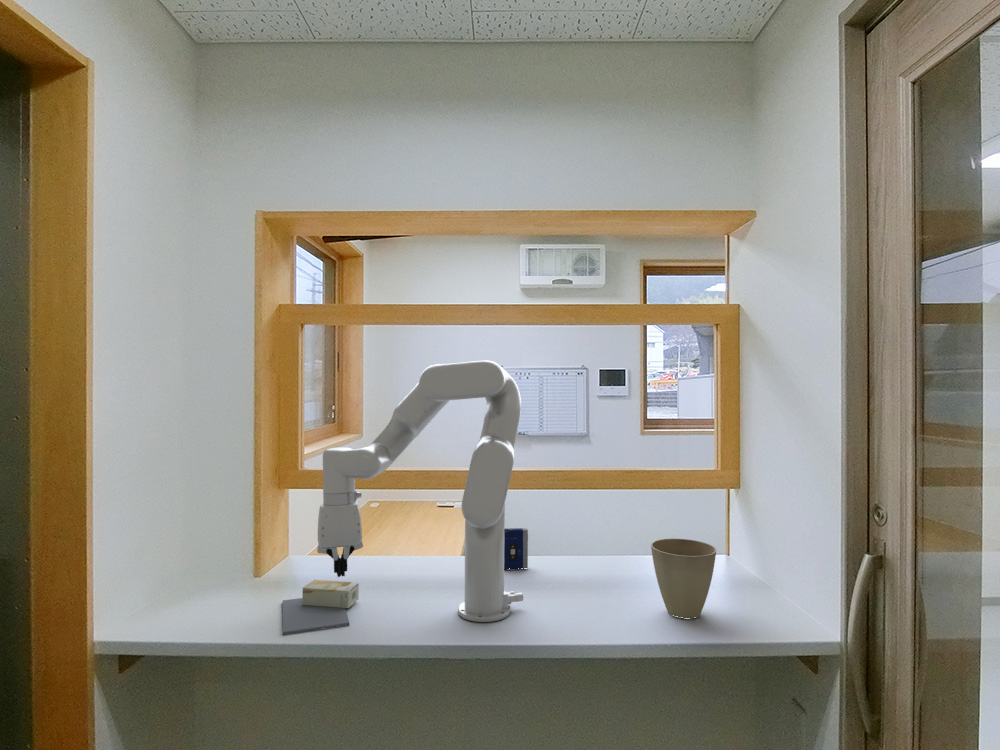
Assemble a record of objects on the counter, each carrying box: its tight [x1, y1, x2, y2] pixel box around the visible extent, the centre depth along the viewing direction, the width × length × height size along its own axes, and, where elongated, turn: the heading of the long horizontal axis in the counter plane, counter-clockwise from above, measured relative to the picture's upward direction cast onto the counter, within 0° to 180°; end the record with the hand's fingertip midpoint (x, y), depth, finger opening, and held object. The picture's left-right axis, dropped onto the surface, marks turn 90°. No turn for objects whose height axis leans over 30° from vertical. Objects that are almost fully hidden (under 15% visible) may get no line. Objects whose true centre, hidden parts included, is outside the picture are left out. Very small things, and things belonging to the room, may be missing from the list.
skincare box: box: [301, 579, 360, 609], centre depth 140 cm, size 6×4×12 cm
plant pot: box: [650, 537, 717, 618], centre depth 135 cm, size 15×15×16 cm
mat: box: [282, 597, 350, 636], centre depth 135 cm, size 14×20×1 cm
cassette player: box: [504, 527, 529, 569], centre depth 169 cm, size 7×2×12 cm, turn 95°
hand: (340, 574), depth 137 cm, fingers closed
